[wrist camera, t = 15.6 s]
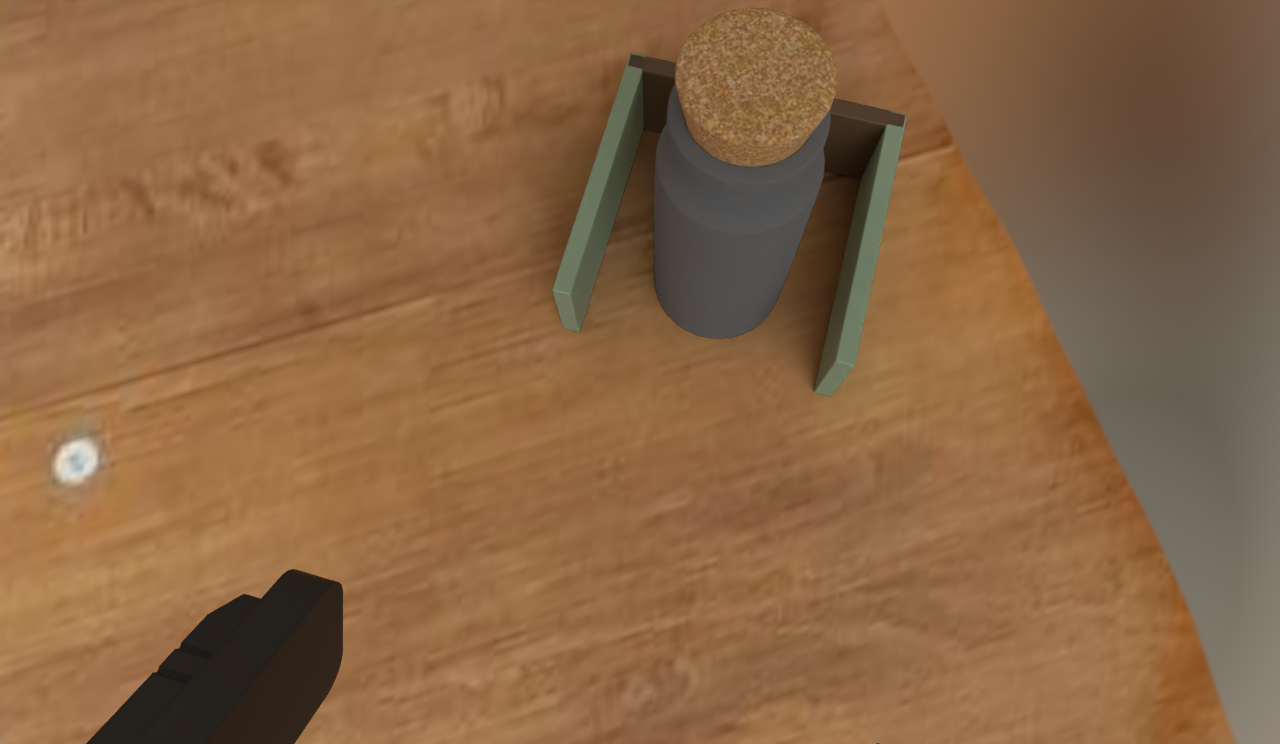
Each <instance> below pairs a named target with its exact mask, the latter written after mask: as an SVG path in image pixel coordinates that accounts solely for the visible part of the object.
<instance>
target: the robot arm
mask: <svg viewBox="0 0 1280 744" xmlns="http://www.w3.org/2000/svg"><path fill="white" fill-rule="evenodd" d="M342 653H343V588H342V585H341V584H340V583H339V582H336V581H333V580H329V579H326V578H322V577H319V576H316V575H312V574H309V573H305V572H302V571H299V570H295V569H291V570H289V571H287V572H285V573H284V574H283V575H282V576H281V577H280V578H279V579H278V580H277V581H276V583H275V584H274V585H273V586H272V587H271V588H270V589H269V590H268V592H267V593H266V594H265V595H264V596H263V597H262V598H261V599H260V598H256V597H253V596H250V595H246V594H243V595H241V596H239V597H238V598H236V599H234V600H232V601H231V602H229V603H227V604H225V605H224V606H222V607H220V608H218V609H217V610H215V611H213V612H211V613H210V614H208V615H207V616H206V617H205V618H204V619H203V620H202V621H201V622H200V623H199V625H198V626H197V627H196V628H195V629H194V630H193V631H192V632H191V633H190V634H189V635H188V636H187V637H186V638H185V639H184V640H183V642H182V643H181V646H180V648H179V649H175V650H174V651H173V652H172V653H171V654H170V655H169V656H168V657H167V659H166V660H165V661H164V662H163V663H162V664H161V665H160V666H159V669H158V671H157V672H156V673H154V672H153V673H152V674H151V676H150V677H149V678H148V679H147V680H146V681H145V682H144V683H143V684H142V685H141V686H140V687H139V688H138V689H137V690H136V691H135V693H134V694H133V695H132V696H131V697H130V698H129V699H128V700H127V701H126V702H125V703H124V704H123V705H122V706H121V707H120V708H119V710H118V711H117V712H116V713H115V714H114V715H113V716H112V717H111V718H110V719H109V720H108V721H107V722H106V723H105V724H104V725H103V727H102V728H101V729H100V730H99V731H98V732H97V733H96V734H95V735H94V736H93V737H92V738H91V739H90V740H89V741H88V742H87V744H294V743H295V742H296V740H297V739H298V737H299V736H300V735H301V733H302V732H303V730H304V729H305V727H306V726H307V724H308V723H309V721H310V720H311V718H312V717H313V715H314V714H315V712H316V711H317V709H318V708H319V707H320V705H321V704H322V702H323V701H324V699H325V698H326V696H327V695H328V693H329V691H330V689H331V687H332V685H333V683H334V681H335V679H336V676H337V674H338V671H339V668H340V664H341V660H342ZM877 744H878V743H877Z"/></svg>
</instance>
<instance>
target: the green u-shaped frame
mask: <svg viewBox="0 0 1280 744" xmlns="http://www.w3.org/2000/svg"><path fill="white" fill-rule="evenodd" d="M675 68H676V63H673V62H669V61H664V60H660V59H655V58H651V57H646V56H642V55H638V54H633V53H630V55H629V58H628V61H627V64H626V67H625V70H624V73H623V76H622V79H621V82H620V85H619V88H618V91H617V94H616V97H615V100H614V103H613V106H612V109H611V112H610V115H609V118H608V122H607V125H606V128H605V131H604V134H603V137H602V140H601V143H600V146H599V149H598V152H597V155H596V158H595V161H594V164H593V167H592V170H591V173H590V176H589V179H588V182H587V185H586V188H585V191H584V194H583V197H582V200H581V203H580V206H579V209H578V212H577V215H576V218H575V221H574V224H573V228H572V231H571V234H570V237H569V240H568V243H567V246H566V249H565V252H564V255H563V258H562V261H561V264H560V267H559V270H558V273H557V276H556V279H555V282H554V285H553V288H552V291H553V295H554V298H555V301H556V305H557V308H558V312H559V315H560V318H561V322H562V325H563V328H564V329H568V330H572V331H576V332H580V329H581V326H582V323H583V320H584V317H585V313H586V310H587V307H588V304H589V301H590V298H591V294H592V291H593V288H594V285H595V282H596V279H597V275H598V272H599V269H600V266H601V263H602V259H603V256H604V253H605V250H606V247H607V244H608V240H609V237H610V234H611V231H612V228H613V224H614V221H615V218H616V215H617V212H618V209H619V205H620V202H621V199H622V196H623V193H624V190H625V186H626V183H627V180H628V177H629V174H630V170H631V167H632V164H633V161H634V158H635V155H636V151H637V148H638V145H639V142H640V139H641V135H642V132H643V129H646V130H651V131H655V132H659V133H662V130H663V128H664V127H665V125H666V122H667V107H668V101H669V96H670V94H671V91H672V88H673V86H674V84H675ZM830 116H831V120H830V128H829V133H828V136H827V140H826V143H825V145H824V148H823V150H824V157H825V165H824V171H828V172H832V173H837V174H841V175H845V176H850V177H854V178H858V179H861V181H860V186H859V190H858V195H857V199H856V204H855V208H854V213H853V217H852V222H851V226H850V231H849V235H848V240H847V244H846V249H845V253H844V258H843V262H842V267H841V271H840V276H839V280H838V285H837V289H836V294H835V298H834V303H833V307H832V312H831V316H830V321H829V325H828V330H827V334H826V339H825V343H824V348H823V352H822V357H821V361H820V366H819V370H818V375H817V379H816V384H815V388H814V392H815V393H818V394H822V395H826V396H832V394H833V393H834V392H835V391H836V389H837V388H838V387H839V385H840V384H841V383H842V382H843V380H844V379H845V378H846V376H847V375H848V374H849V373H850V371H851V370H852V369H853V367H854V366H855V363H856V358H857V353H858V349H859V344H860V339H861V334H862V329H863V325H864V320H865V315H866V310H867V306H868V301H869V296H870V291H871V286H872V282H873V277H874V272H875V267H876V262H877V258H878V253H879V248H880V243H881V239H882V234H883V229H884V224H885V219H886V215H887V210H888V205H889V200H890V195H891V191H892V186H893V181H894V176H895V172H896V167H897V162H898V157H899V152H900V148H901V143H902V138H903V133H904V129H905V124H906V119H907V115H906V114H902V113H898V112H893V111H888V110H884V109H879V108H875V107H870V106H866V105H861V104H857V103H852V102H848V101H843V100H839V99H835V98H834V100H833V103H832V105H831V107H830Z"/></svg>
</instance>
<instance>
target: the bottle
mask: <svg viewBox="0 0 1280 744" xmlns="http://www.w3.org/2000/svg"><path fill="white" fill-rule="evenodd" d="M836 89H837V71H836V65H835V62H834V59H833V56H832V54H831V52H830V50H829V48H828V47H827V45H826V44H825V42H824V41H823V39H822V38H821V37H820V36H819V35H818V34H817V33H816V32H815V31H814V30H813V29H812V28H810V27H809V26H808V25H807V24H805V23H804V22H802V21H801V20H799V19H797V18H795V17H793V16H790V15H788V14H785V13H783V12H778V11H774V10H768V9H763V8H746V9H738V10H733V11H729V12H726V13H723V14H720V15H718V16H716V17H714V18H712V19H710V20H708V21H707V22H705V23H704V24H702V25H701V26H700V27H698V28H697V29H696V30H695V31H694V32H693V33H692V34H691V35H690V36H689V38H688V39H687V41H686V42H685V44H684V45H683V47H682V49H681V51H680V53H679V56H678V59H677V63H676V68H675V84H674V86H673V88H672V91H671V94H670V96H669V101H668V107H667V122H666V125H665V127H664V128H663V130H662V133H661V135H660V137H659V141H658V145H657V149H656V160H655V188H654V281H655V289H656V293H657V297H658V299H659V301H660V303H661V306H662V308H663V309H664V311H665V312H666V313H667V315H668V316H669V317H670V318H671V319H672V320H673V321H674V322H675V323H676V324H677V325H679V326H680V327H682V328H683V329H684V330H686V331H688V332H690V333H693V334H695V335H698V336H702V337H706V338H717V339H722V338H730V337H736V336H739V335H742V334H744V333H746V332H748V331H750V330H752V329H753V328H755V327H756V326H758V325H759V324H760V323H762V322H763V321H764V320H765V319H766V317H767V316H768V315H769V314H770V312H771V311H772V309H773V307H774V305H775V304H776V301H777V299H778V297H779V294H780V292H781V290H782V287H783V285H784V282H785V280H786V278H787V275H788V273H789V270H790V267H791V265H792V262H793V260H794V257H795V254H796V252H797V249H798V246H799V244H800V241H801V238H802V236H803V233H804V230H805V228H806V225H807V223H808V220H809V217H810V215H811V212H812V209H813V207H814V204H815V201H816V199H817V196H818V193H819V190H820V186H821V183H822V180H823V176H824V165H825V157H824V150H823V148H824V145H825V143H826V140H827V136H828V133H829V128H830V120H831V116H830V107H831V105H832V103H833V100H834V97H835V93H836Z"/></svg>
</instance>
